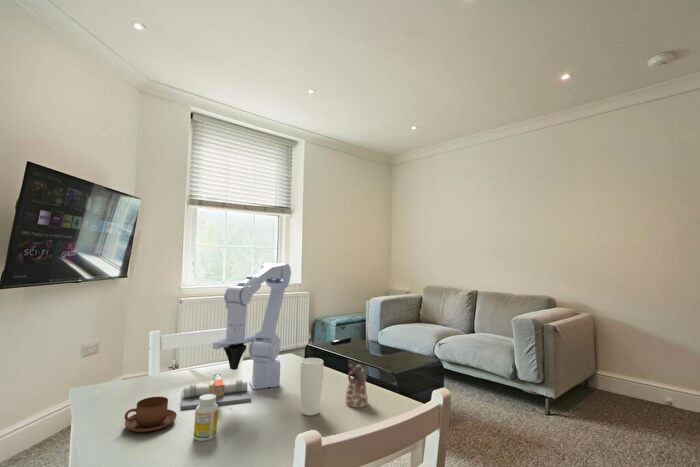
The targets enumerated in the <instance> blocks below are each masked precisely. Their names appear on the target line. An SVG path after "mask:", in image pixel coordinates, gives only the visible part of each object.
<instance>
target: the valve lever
mask: <svg viewBox="0 0 700 467" xmlns="http://www.w3.org/2000/svg"><path fill="white" fill-rule="evenodd" d="M223 380H224V379H223V378H222V374H220V373H218V374H217V373H216V374H214V375H213V380H212V381H214V389H215V392H216V391H224V384H225V382H224V383H223Z"/></svg>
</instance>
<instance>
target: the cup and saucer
mask: <svg viewBox="0 0 700 467" xmlns="http://www.w3.org/2000/svg"><path fill="white" fill-rule="evenodd" d="M168 405H169V399H168V398H167V397H165V396H150V397H146V398H143V399H141V400H139V401H137V403H136V408H130V409H129V410H127V411H126V412H125V414H124V420H125V421H124V427H125V428H126V429H127V430H129V431H131V432H135V433H136V432H137V433H147V432H154V431H158V430H161V429H164V428H165V427H168V426H170V425H171V424H172V423H174V421H175V420H176V418H177V414H178V413H177V412H175V411H174V410H172V409H168V408H169V406H168ZM131 412H132V413H133V412H135V414H132V415H131V416H128V415H129V414H130V413H131Z"/></svg>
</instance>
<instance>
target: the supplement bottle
mask: <svg viewBox="0 0 700 467" xmlns="http://www.w3.org/2000/svg"><path fill="white" fill-rule="evenodd" d="M215 402H216V395H214V394H205V395H202V396H200V397H199V405H198V406H197V407H196V408H195V414H194V425H193V426H194V427H193V438H194V440H195V441H198V442H206V441H207V442H208V441H210V440H212V439H213V438H215V437H216V435H217V428H218V416H219V405H217V404H216V403H215Z"/></svg>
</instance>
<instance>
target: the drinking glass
mask: <svg viewBox="0 0 700 467" xmlns="http://www.w3.org/2000/svg"><path fill="white" fill-rule="evenodd" d="M299 373H300V402H301V404H300V405H301V408H300V410H301V414H302V415H304V416H309V417H310V416H311V417H312V416H316V415H318V414H319V412H320V402H321V395H322V387H323V380H324V360H323V359H321V358H317V357H307V358H303V359H301V361H300V372H299Z"/></svg>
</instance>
